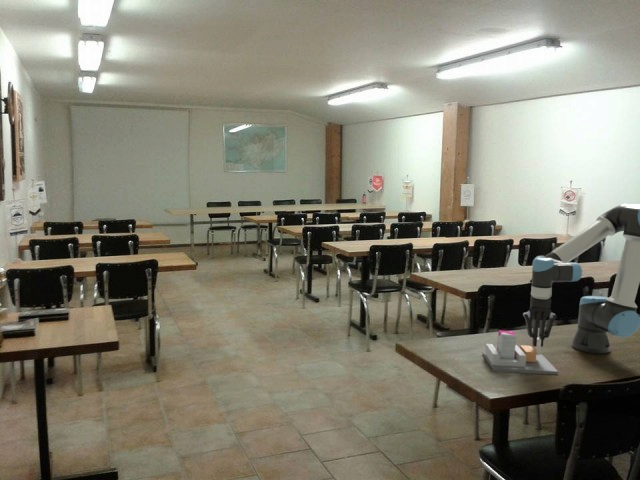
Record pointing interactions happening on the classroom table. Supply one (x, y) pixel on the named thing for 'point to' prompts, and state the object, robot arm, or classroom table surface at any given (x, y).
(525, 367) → the block
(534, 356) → the block
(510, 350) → the supplement box
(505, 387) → the classroom table surface
